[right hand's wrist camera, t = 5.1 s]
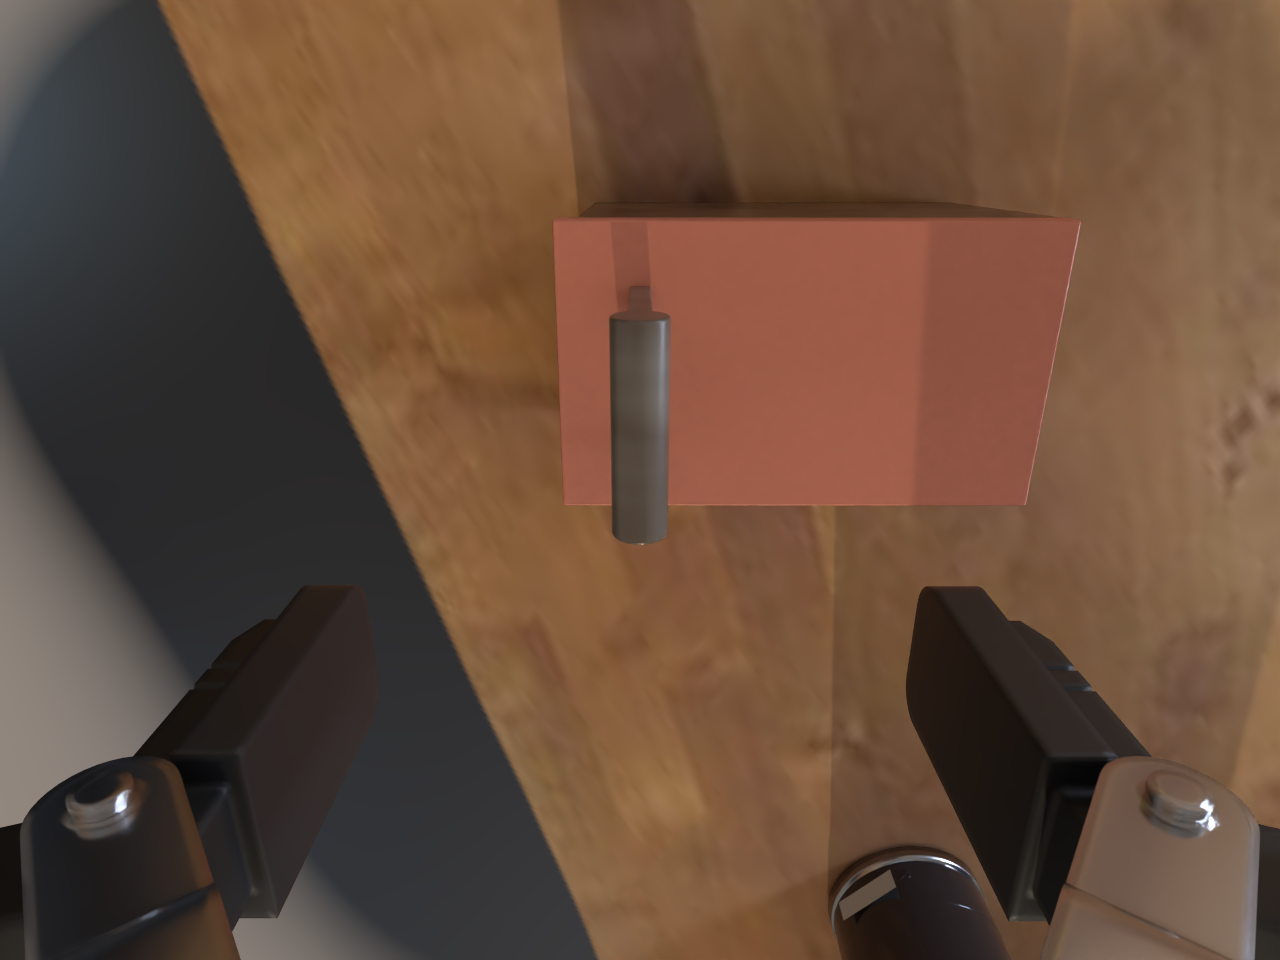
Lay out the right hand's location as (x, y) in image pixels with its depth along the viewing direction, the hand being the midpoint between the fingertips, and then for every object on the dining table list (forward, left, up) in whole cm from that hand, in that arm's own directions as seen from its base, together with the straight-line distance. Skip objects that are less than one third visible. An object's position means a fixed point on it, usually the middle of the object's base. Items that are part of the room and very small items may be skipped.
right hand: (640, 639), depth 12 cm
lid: (-3, -4, -17) cm, 18 cm away
